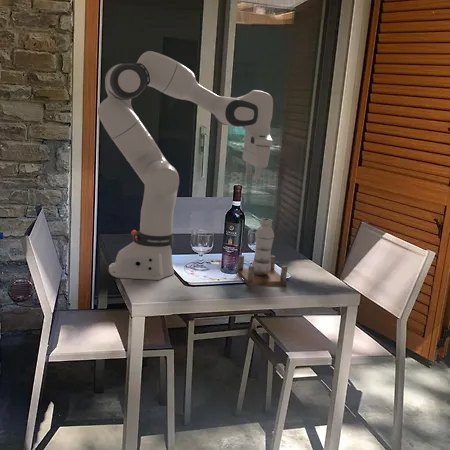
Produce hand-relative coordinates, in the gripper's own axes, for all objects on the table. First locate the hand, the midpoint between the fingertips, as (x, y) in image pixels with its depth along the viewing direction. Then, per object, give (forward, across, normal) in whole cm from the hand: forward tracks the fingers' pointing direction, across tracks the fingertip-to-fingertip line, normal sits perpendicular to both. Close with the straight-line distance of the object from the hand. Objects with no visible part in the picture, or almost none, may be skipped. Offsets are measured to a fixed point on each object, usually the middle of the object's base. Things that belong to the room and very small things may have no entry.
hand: (252, 176), depth 205 cm
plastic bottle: (+33, +11, +4) cm, 35 cm away
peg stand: (+34, +11, +4) cm, 36 cm away
